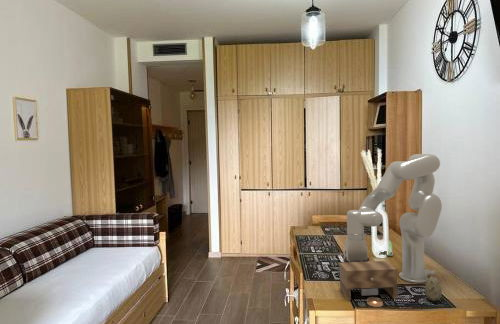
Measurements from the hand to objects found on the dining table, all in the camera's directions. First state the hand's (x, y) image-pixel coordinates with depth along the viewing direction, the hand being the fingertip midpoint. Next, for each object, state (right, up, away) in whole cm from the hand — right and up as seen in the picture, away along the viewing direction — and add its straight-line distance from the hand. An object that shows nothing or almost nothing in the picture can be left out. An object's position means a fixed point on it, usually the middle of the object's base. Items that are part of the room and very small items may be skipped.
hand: (356, 274), depth 151 cm
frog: (+30, -2, +37) cm, 48 cm away
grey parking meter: (0, -3, -6) cm, 7 cm away
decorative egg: (+25, -4, -21) cm, 33 cm away
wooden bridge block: (0, -4, -13) cm, 14 cm away
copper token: (0, -4, -22) cm, 22 cm away
